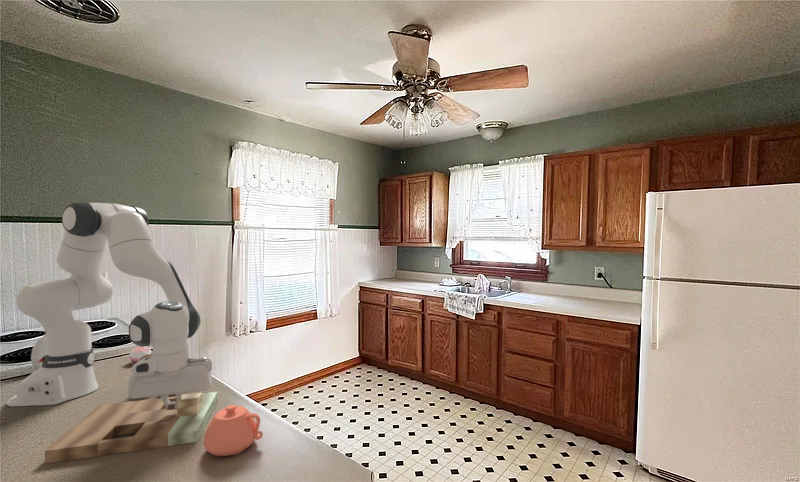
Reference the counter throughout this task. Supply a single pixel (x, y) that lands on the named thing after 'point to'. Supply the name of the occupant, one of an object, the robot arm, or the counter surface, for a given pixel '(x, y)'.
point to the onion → (138, 354)
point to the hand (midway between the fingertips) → (172, 409)
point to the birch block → (189, 404)
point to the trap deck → (130, 429)
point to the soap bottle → (39, 352)
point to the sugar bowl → (232, 431)
